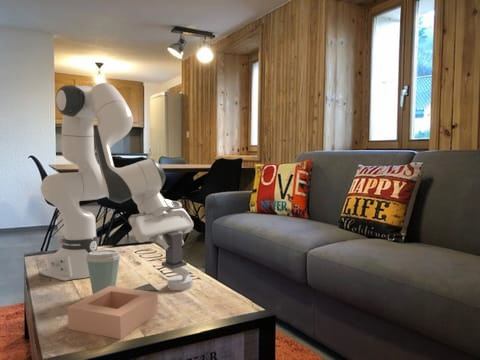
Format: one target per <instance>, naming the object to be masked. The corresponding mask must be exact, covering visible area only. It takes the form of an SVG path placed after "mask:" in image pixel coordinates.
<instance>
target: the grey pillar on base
mask: <svg viewBox="0 0 480 360" xmlns="http://www.w3.org/2000/svg"><path fill="white" fill-rule="evenodd" d="M182 239H183V234H182V233H179V232H175V231H174V232H169V233H165V239H164V240H165V241H166V242H169V243H170V244H171V248H170V249H167V250H165V261H161V266H162V267H164V268H166V267H167V268H166V269H168V268H170V269H175V268H179V267H182V266H184V267H185V266H187V265H188V263H187V261H185V260H183V246H182ZM170 269H169V270H170Z"/></svg>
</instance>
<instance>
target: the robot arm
mask: <svg viewBox="0 0 480 360" xmlns="http://www.w3.org/2000/svg"><path fill="white" fill-rule="evenodd" d="M55 105H56V108H57V110H58V111H59V112H60V114H62V120H61V121H62V123H61V154H62V156H63V158H64V159H65V160H66V161H68V162H70V163H73V164H75V165H77V168H78V171H77V172H76V171H75V172H58V173H54V174H50V175H46V176H45V178H44V179H43V180H42V182H41V183H40V184H41V185H40V191H41V192H40V193H41V195H42V196H43V198H44V199H45V200H46V201H47V202H49V203H50V204H51V205H53V206H54V207H55V208H57V210H58V211H59V213H60V214H61V217H62V220H63V226H64V238H62V239H60V240H59V243H60V244H61V243H62V244H61V248H59V249H58V250H57V251H56V252H55V253H54V254H52V255H51V256H50V257H49V259H48V265H47V266H48V267H47V268H46V269H44V270H42V271H41V275H43V276H46V277H49V278H52V279H53V278H54V279H57V280H61V281H70V280H71V281H72V280H76V279H85V278H90V276H89V270H88V264H87V260H86V257H87V255H88V253H90V252H93V251H97V250H98V244H99V242H98V241H99V240H98V239H99V238H98V235H97V226H96V216H95V215H94V214H93V212H91V211H90V210H88V209H87V210H86V209H84V208H81V206H80V202H81V201H82V202H83V201H94V200H99V199H100V200H101V199H103V198H107V200H109V201H112V202H114V203H116V204H117V203H118V204H122V203H124V202H126V201H128V200H130V199H132V200H133V202H134V203H135V204H136V205H137V210H138V212H139V213H136V214H135V213H134V214H131V215H130V216H129V217H128V223H129V225H130V226H131V230H132V232H133V236H134V237H135V240H136V241H137V242H139V243H140V244H141V243H146V242H150V241H156V243H158V245H160V246H162V248H163V250H165V251H166V250H167V249H170V248H171V244H170V243H169V242H166V241H165V239H164V238H165V233H169V232H174V231H175V232H179V233H182V235H183V234H188V233H190V232H191V231H192V230H193V228H194V224H195V223H194V220H192V218H191V216H190V214H189V213H188V211H186V210H185V209H184V208H183V205H182V203H181V202H180V201H176V200H171V199H167V198H165V197H164V196H163V195H162V194H161V192H160V191H161V190H162V188H163V186H164V184H165V181H166V173H165V171H164V168H163V167H162V165H161V164H160V162H158V161H157V160H155V159H153V158H148V159H143V160H140V161H137V162H135V163H132V164H129V165H125V166H123V167H115V164H114V160H113V157H112V153H111V148H112V147H113V146H114V145H115V144H116V143H117V142H119V141H120V140H122V139H123V138H125V137H126V136H127V135H128V134H129V133H130V131H131V130H132V128H133V124H134V115H133V113H132V111H131V109H130V107H129V105H128V103H127V101H126V100H125V98H124V97H123V96H122V94H121V93H120V92H119V90H118V89H117V88H116V87H115V86H114V85H113V84H111V83H107V82H101V83H97V84H95V85H73V84H70V85H67V84H66V85H63V86H61V87H60V88H58V90H57V92H56V95H55ZM95 121H97V126H96V128H95V129H94V124H95V123H94V122H95ZM96 156H97V158H96ZM184 245H185V242H184V240H183V238H182V247H184Z"/></svg>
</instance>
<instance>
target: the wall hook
mask: <svg viewBox="0 0 480 360" xmlns="http://www.w3.org/2000/svg"><path fill="white" fill-rule="evenodd" d="M165 268H166V269H167V270H169V271H172V272H174V273H175V274H177V275H173V276H169V277H168V278H167V281H166V282H167V289H168V288H169V289H168V290H170V289H171V290H170V291H174V290H182V291H186V290H187V291H188V290H190V289H192V287H193V285H194V283H193V277H192V276H191V275H190V270H189V268H187V267H185V266H182V267H179V268H175V269H170V268H167V267H165Z"/></svg>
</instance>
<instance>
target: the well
mask: <svg viewBox="0 0 480 360" xmlns="http://www.w3.org/2000/svg"><path fill="white" fill-rule="evenodd" d="M66 308H67V310H66V311H67V326H68V327H67V328H68V330H72V331H76V332H77V331H78V332H83V333H87V334H92V335H97V336H102V337H108V338H113V339H116V340H122V339H123V338H125V337H127V336H128V335H130V334H131V333H132V332H133V331H135V330H136V329H138V328H139V327H141V326H142V325H143V324H144V323H146V322H147V321H149V320H150V319H151V318H152V317H154V316H156V315H157V314H158V313H159V300H158V292H155V291H148V290H142V289H135V288H134V289H133V288H129V287H128V288H126V287H120V286H116V287H114V286H108V287H106V288H104V289H102V290H100V291H98V292H96V293H94V294H93V293H92V294H91V295H89V296H87V297H85V298H83V299H81V300H79V301H77V302H75V303H73V304H71V305H69V306H67V307H66Z"/></svg>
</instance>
